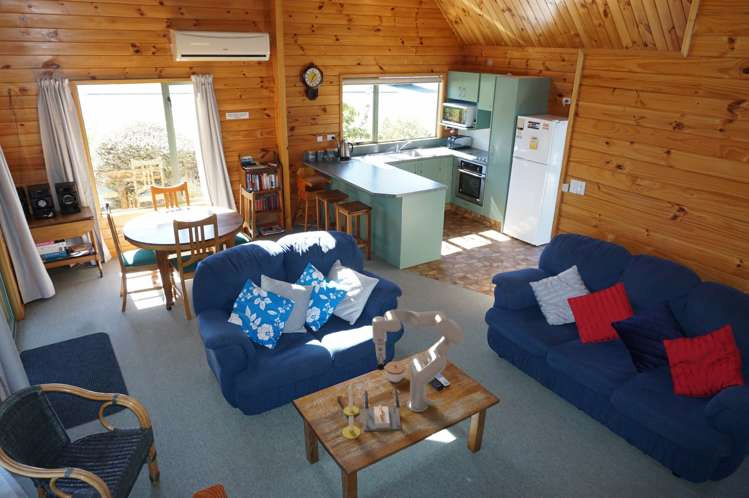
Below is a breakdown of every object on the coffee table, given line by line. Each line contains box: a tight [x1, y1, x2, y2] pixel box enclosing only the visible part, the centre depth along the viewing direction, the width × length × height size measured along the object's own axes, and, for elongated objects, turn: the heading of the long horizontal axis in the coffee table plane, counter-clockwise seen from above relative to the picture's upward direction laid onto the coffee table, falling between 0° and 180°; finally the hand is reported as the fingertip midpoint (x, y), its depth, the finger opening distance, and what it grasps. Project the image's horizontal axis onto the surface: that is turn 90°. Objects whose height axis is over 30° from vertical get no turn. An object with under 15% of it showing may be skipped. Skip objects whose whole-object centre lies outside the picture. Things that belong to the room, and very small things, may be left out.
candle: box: [342, 383, 361, 440], centre depth 274 cm, size 10×10×32 cm
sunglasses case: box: [336, 395, 361, 419], centre depth 299 cm, size 18×7×7 cm
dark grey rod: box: [364, 390, 369, 409], centre depth 283 cm, size 2×15×2 cm, turn 3°
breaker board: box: [362, 390, 402, 432], centre depth 286 cm, size 21×16×15 cm
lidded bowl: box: [384, 361, 406, 383], centre depth 323 cm, size 13×13×11 cm
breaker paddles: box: [378, 404, 383, 420], centre depth 287 cm, size 1×9×3 cm, turn 2°
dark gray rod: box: [394, 389, 401, 408], centre depth 284 cm, size 2×15×2 cm, turn 3°
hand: (380, 364), depth 285 cm, fingers open, 9 cm apart
